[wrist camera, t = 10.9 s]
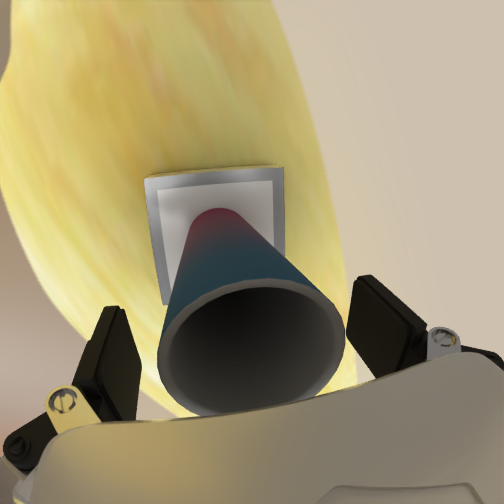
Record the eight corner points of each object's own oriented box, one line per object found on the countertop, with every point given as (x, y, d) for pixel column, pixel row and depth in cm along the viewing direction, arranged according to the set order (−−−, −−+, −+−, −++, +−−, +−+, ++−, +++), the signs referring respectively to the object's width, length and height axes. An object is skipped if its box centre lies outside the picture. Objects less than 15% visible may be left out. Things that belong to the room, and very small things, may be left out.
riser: (151, 174, 24) (143, 179, 21) (271, 164, 26) (284, 167, 22) (166, 285, 28) (162, 306, 25) (273, 273, 30) (285, 292, 26)
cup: (277, 229, 24) (377, 334, 10) (227, 290, 25) (266, 437, 11) (210, 178, 22) (238, 233, 8) (160, 248, 23) (124, 384, 9)
